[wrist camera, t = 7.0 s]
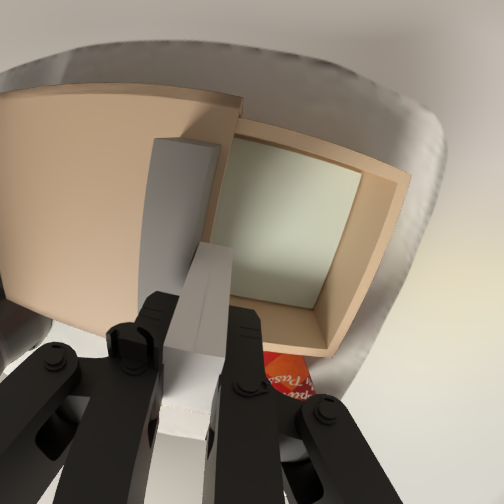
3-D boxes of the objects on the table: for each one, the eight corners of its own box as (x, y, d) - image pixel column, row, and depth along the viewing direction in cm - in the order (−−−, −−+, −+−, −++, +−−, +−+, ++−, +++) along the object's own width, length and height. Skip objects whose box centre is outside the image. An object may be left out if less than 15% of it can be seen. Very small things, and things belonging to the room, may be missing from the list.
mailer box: (141, 278, 23) (116, 319, 17) (163, 110, 17) (132, 102, 12) (315, 312, 24) (332, 357, 19) (370, 162, 19) (411, 174, 14)
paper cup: (321, 339, 26) (360, 463, 13) (306, 386, 29) (327, 492, 16) (243, 338, 25) (245, 475, 13) (239, 386, 29) (239, 498, 16)
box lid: (40, 267, 20) (-19, 324, 12) (45, 95, 14) (-41, 95, 5) (199, 310, 22) (181, 404, 14) (242, 109, 16) (242, 80, 7)
